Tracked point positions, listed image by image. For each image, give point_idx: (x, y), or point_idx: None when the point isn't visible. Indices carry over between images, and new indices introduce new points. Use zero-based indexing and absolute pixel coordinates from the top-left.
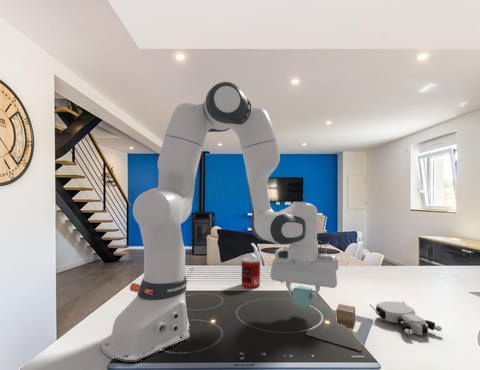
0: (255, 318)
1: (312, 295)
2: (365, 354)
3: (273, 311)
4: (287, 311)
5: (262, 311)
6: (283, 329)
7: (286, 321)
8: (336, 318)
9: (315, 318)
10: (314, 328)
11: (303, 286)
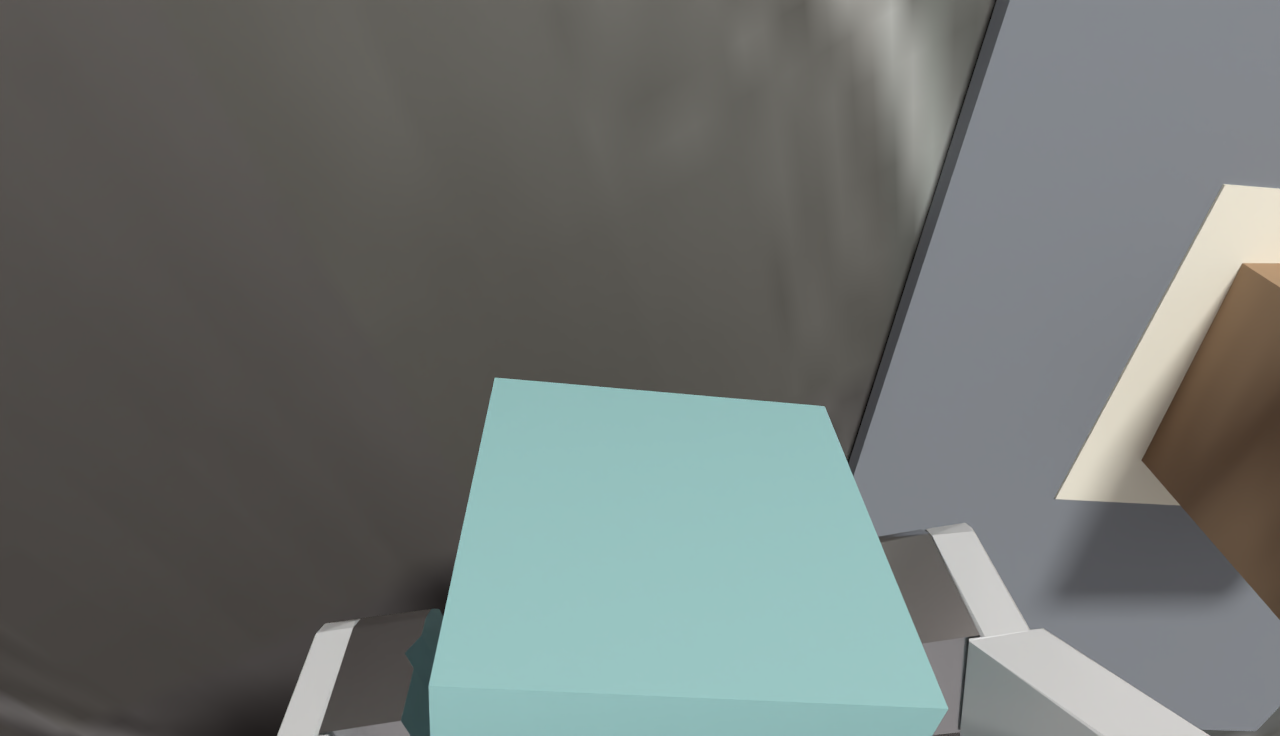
0: (170, 663)
1: None
2: (1268, 724)
3: (187, 435)
4: (359, 336)
5: (69, 502)
6: None
7: None
8: (1198, 524)
9: (840, 354)
10: None
11: (622, 707)
